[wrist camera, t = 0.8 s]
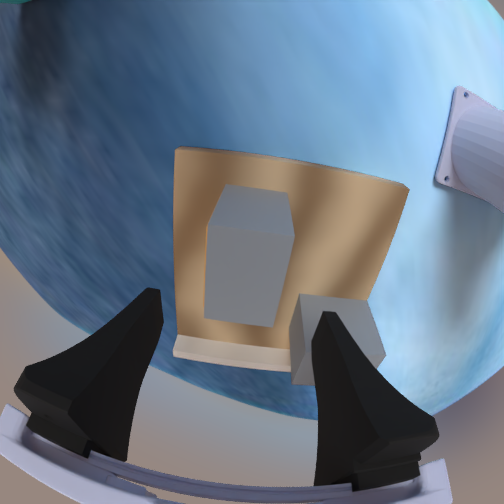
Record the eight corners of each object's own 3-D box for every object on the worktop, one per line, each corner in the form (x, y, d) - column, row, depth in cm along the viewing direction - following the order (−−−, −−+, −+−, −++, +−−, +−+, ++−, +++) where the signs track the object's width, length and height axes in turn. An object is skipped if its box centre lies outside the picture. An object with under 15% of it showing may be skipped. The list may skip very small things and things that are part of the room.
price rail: (340, 352, 26) (343, 368, 24) (336, 359, 27) (339, 375, 25) (177, 334, 26) (172, 350, 24) (178, 341, 26) (173, 357, 25)
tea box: (272, 268, 21) (272, 327, 16) (217, 261, 21) (201, 317, 16) (287, 192, 18) (294, 236, 13) (223, 183, 18) (204, 223, 13)
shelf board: (402, 183, 18) (409, 189, 17) (335, 350, 28) (337, 358, 27) (180, 146, 18) (175, 149, 17) (181, 332, 27) (178, 340, 26)
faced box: (366, 300, 22) (386, 355, 17) (350, 333, 25) (363, 386, 19) (299, 293, 22) (305, 352, 17) (288, 328, 24) (291, 385, 19)
